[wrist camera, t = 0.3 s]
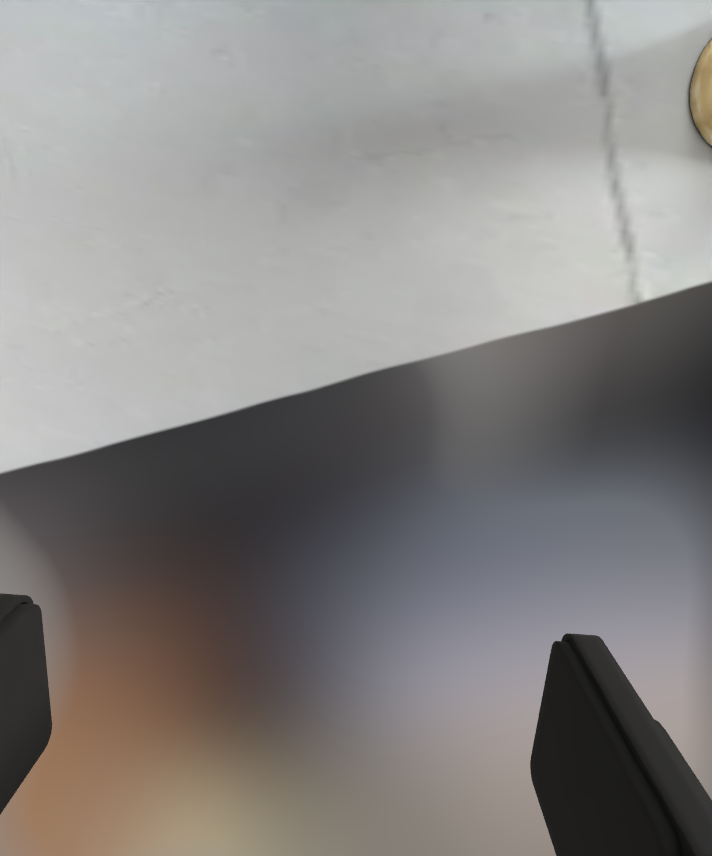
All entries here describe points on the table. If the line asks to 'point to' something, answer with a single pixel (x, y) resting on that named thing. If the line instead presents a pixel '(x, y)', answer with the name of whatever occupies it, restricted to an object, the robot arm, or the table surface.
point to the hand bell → (703, 94)
